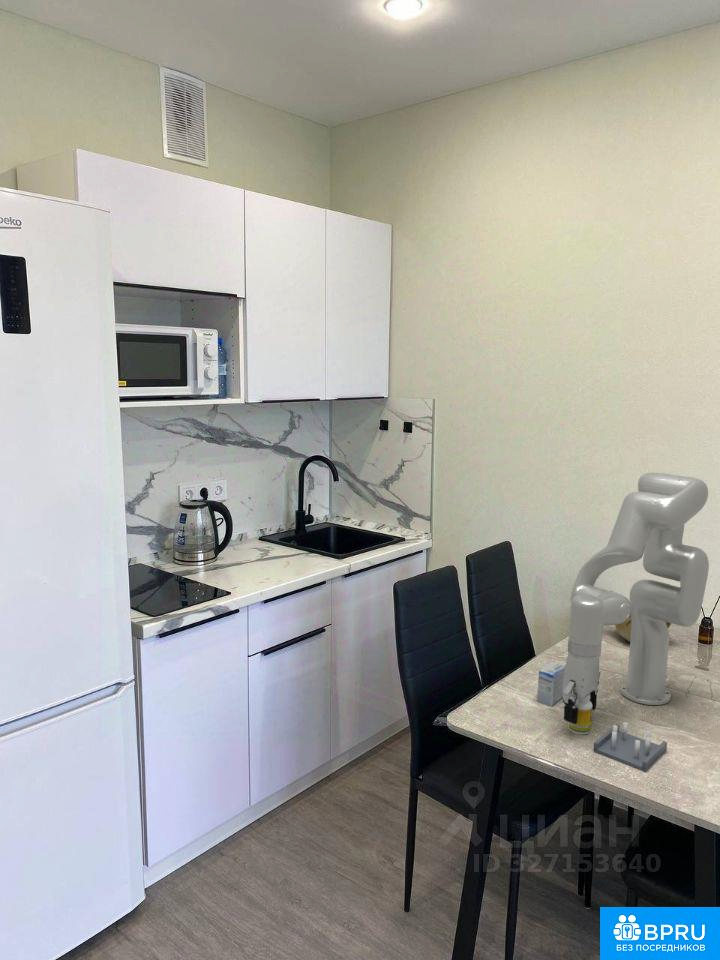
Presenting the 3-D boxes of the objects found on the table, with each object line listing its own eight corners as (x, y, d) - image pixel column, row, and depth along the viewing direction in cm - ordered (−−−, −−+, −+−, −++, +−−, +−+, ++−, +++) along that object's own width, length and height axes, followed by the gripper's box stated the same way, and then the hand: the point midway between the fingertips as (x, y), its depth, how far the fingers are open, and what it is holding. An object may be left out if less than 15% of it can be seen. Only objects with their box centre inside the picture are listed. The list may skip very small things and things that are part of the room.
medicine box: (549, 691, 195) (551, 661, 194) (565, 696, 192) (567, 665, 191) (536, 701, 189) (538, 670, 188) (552, 707, 186) (554, 675, 185)
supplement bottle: (565, 723, 177) (567, 687, 176) (587, 724, 177) (590, 688, 176) (570, 734, 172) (572, 697, 171) (593, 735, 172) (595, 698, 170)
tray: (615, 732, 173) (617, 713, 173) (666, 751, 165) (668, 731, 165) (593, 751, 165) (594, 732, 164) (645, 772, 157) (647, 751, 156)
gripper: (586, 634, 180) (582, 698, 183) (552, 653, 168) (548, 721, 170) (615, 642, 175) (610, 708, 178) (582, 662, 162) (577, 733, 165)
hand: (579, 714), depth 174 cm, fingers open, 9 cm apart
